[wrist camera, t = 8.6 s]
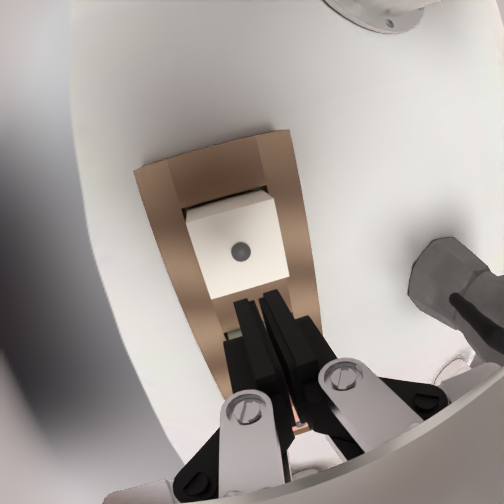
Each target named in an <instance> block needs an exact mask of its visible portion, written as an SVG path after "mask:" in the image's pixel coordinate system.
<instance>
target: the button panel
mask: <svg viewBox="0 0 504 504" xmlns="http://www.w3.org/2000/svg"><path fill="white" fill-rule="evenodd" d="M133 172H134V175H135V178H136V182H137V185H138V188H139V191H140V194H141V198H142V201H143V204H144V207H145V210H146V213H147V216H148V219H149V222H150V225H151V228H152V231H153V233H154V236H155V239H156V242H157V245H158V247H159V250H160V253H161V256H162V258H163V261H164V264H165V266H166V269H167V272H168V274H169V277H170V279H171V282H172V284H173V287H174V289H175V292H176V294H177V297H178V299H179V302H180V304H181V306H182V309H183V311H184V314H185V316H186V318H187V321H188V323H189V325H190V328H191V330H192V332H193V334H194V337H195V339H196V341H197V343H198V346H199V348H200V350H201V352H202V354H203V356H204V359H205V361H206V363H207V365H208V367H209V369H210V371H211V373H212V375H213V377H214V379H215V382H216V384H217V386H218V388H219V390H220V392H221V394H222V396H223V397H224V399H225V401H226V400H227V399H228V398H229V397H230V396H231V395H233V392H232V387H231V382H230V377H229V372H228V367H227V362H226V357H225V352H224V346H223V341H226V340H229V337H228V332H229V331H232V330H236V329H239V328H240V326H239V322H238V318H237V315H236V311H235V308H234V304H233V302H235V301H238V300H242V299H245V298H247V299H248V301H252V300H254V301H255V304H256V306H257V309H258V311H259V313H260V316H261V318H262V321H264V319H263V315H262V311H261V308H260V304H259V300H258V298H262V297H263V293H265V292H268V291H271V290H274V289H278V291H279V293H280V294H281V296H282V298H283V300H284V301H285V303H286V305H287V306H288V308H289V310H290V312H291V313H292V315H293V317H294V318H295V319H297V318H300V317H303V316H306V315H309V316H310V318H311V319H312V321H313V322H314V324H315V325H316V327H317V328H318V330H319V331H320V333H321V334H322V325H321V316H320V308H319V300H318V292H317V285H316V277H315V270H314V263H313V256H312V250H311V243H310V237H309V231H308V225H307V219H306V213H305V207H304V202H303V196H302V191H301V185H300V180H299V175H298V170H297V164H296V160H295V155H294V150H293V145H292V140H291V136H290V131H289V130H278V131H273V132H268V133H263V134H258V135H254V136H249V137H245V138H241V139H236V140H232V141H228V142H224V143H220V144H216V145H213V146H209V147H205V148H202V149H198V150H194V151H191V152H187V153H184V154H181V155H177V156H174V157H171V158H168V159H164V160H161V161H158V162H155V163H152V164H149V165H146V166H143V167H141V168H139V169H137V170H135V171H133ZM260 189H262V190H263V191H265V192H266V193H267V194H268V195H270V196H271V197H272V198H274V202H275V207H276V211H277V216H278V221H279V226H280V231H281V236H282V241H283V246H284V251H285V256H286V261H287V266H288V271H289V277H286V278H283V279H279V280H276V281H273V282H269V283H266V284H263V285H259V286H256V287H253V288H249V289H246V290H242V291H239V292H236V293H232V294H229V295H225V296H222V297H218V298H215V299H211V298H210V295H209V292H208V289H207V286H206V283H205V280H204V278H203V275H202V272H201V269H200V266H199V263H198V260H197V257H196V254H195V251H194V248H193V245H192V241H191V238H190V235H189V232H188V229H187V226H186V216H187V210H188V209H191V208H194V207H198V206H201V205H205V204H208V203H212V202H215V201H219V200H222V199H226V198H230V197H233V196H237V195H241V194H244V193H248V192H252V191H256V190H260ZM322 336H323V334H322ZM311 430H313V429H311ZM307 431H310V429H309V426H307V427H304V428H301V429H298V430H295V431H293V433H294V436H295V435H298V434H301V433H304V432H307Z"/></svg>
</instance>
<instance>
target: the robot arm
mask: <svg viewBox="0 0 504 504" xmlns="http://www.w3.org/2000/svg"><path fill="white" fill-rule="evenodd" d="M325 1H326V2H327V3H328V4H329V5H330V6H331V7H332V8H334V9H335V10H336V11H338V12H339V13H340V14H341V15H343V16H344V17H346V18H348V19H349V20H351V21H353V22H354V23H356V24H358V25H360V26H363V27H365V28H367V29H370V30H373V31H376V32H380V33H386V34H398V33H402V32H405V31H408V30H410V29H412V28H414V27H415V26H416V25H418V24H419V22H420V20H421V19H422V17H423V12H424V7H425V6H427V5H430V4H433V3H436V2H439V1H442V0H325ZM258 300H259V304H260V308H261V311H262V315H263V319H264V323H265V326H264V323H263V321H262V318H261V316H260V313H259V311H258V309H257V306H256V304H255V301H254V300H252V301H248V299H247V298H245V299H242V300H238V301H235V302H233V304H234V308H235V311H236V315H237V318H238V322H239V326H240V329H241V333H242V336H240V337H237V338H233V339H230V340H226V341H223V346H224V352H225V357H226V362H227V367H228V372H229V377H230V382H231V387H232V392H233V395H231V396H230V397H229V398H228V399H227V400H226V401H225V402H224V404H223V405H222V408H221V412H220V427H219V429H218V430H217V431H216V432H215V433H214V434H213V435H212V437H211V438H210V439H209V440H208V441H207V442H206V443H205V444H204V446H203V447H202V448H201V449H200V450H199V451H198V452H197V453H196V454H195V456H194V457H193V458H192V459H191V460H190V461H189V462H188V463H187V464H186V465H185V466H184V467H183V468H182V469H181V471H180V472H179V473H178V474H177V475H176V477H175V478H174V479H171V480H168V481H167V480H166V479H162V480H158V481H155V482H152V483H148V484H144V485H141V486H137V487H133V488H129V489H125V490H121V491H116V492H113V493H111V494H109V495H108V496H107V497H106V498H105V499H104V501H103V503H102V504H504V366H503V367H501V366H500V365H498V364H496V363H490V362H488V363H484V364H482V365H480V366H477V367H475V368H473V369H471V370H468V371H466V372H464V373H461V374H459V375H456V376H454V377H451V378H449V379H446V380H444V381H441V384H440V385H438V386H435V385H431V384H424V383H416V382H409V381H402V380H395V379H388V378H382V377H377V376H376V375H375V374H374V373H373V372H372V371H371V370H370V369H369V368H368V367H367V366H366V365H365V364H364V363H362V362H361V361H359V360H357V359H353V358H339V359H338V358H337V357H336V355H335V354H334V352H333V351H332V349H331V348H330V346H329V345H328V343H327V342H326V340H325V339H324V337H323V336H322V334H321V333H320V331H319V330H318V328H317V327H316V325H315V324H314V322H313V321H312V319H311V318H310V316H309V315H306V316H303V317H300V318H297V319H295V318H294V317H293V315H292V313H291V312H290V310H289V308H288V306H287V305H286V303H285V301H284V300H283V298H282V296H281V294H280V293H279V291H278V289H274V290H271V291H268V292H265V293H263V297H262V298H258ZM265 327H266V328H265ZM266 330H267V331H266ZM289 396H290V397H289ZM290 398H291V401H292V403H293V406H294V408H295V411H296V413H297V415H298V418H299V420H300V423H301V424H304V423H306V422H307V424H308V426H309V429H310V430H311V429H313V430H314V431H315V432H318V433H322V434H324V435H325V437H326V439H327V441H328V442H329V443H330V445H331V446H332V448H333V449H334V450H335V452H336V453H337V454H338V456H339V457H340V458H341V460H342V461H343V463H342V464H339V465H337V466H334V467H332V468H329V469H327V470H324V471H321V472H319V473H316V474H313V475H310V476H307V477H304V478H301V479H298V480H295V481H293V480H292V473H291V467H290V460H289V453H288V450H287V449H288V448H289V446H290V445H291V443H292V442H293V440H294V438H295V436H294V433H293V429H292V427H295V426H297V425H296V421H295V417H294V413H293V409H292V405H291V401H290Z"/></svg>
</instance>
